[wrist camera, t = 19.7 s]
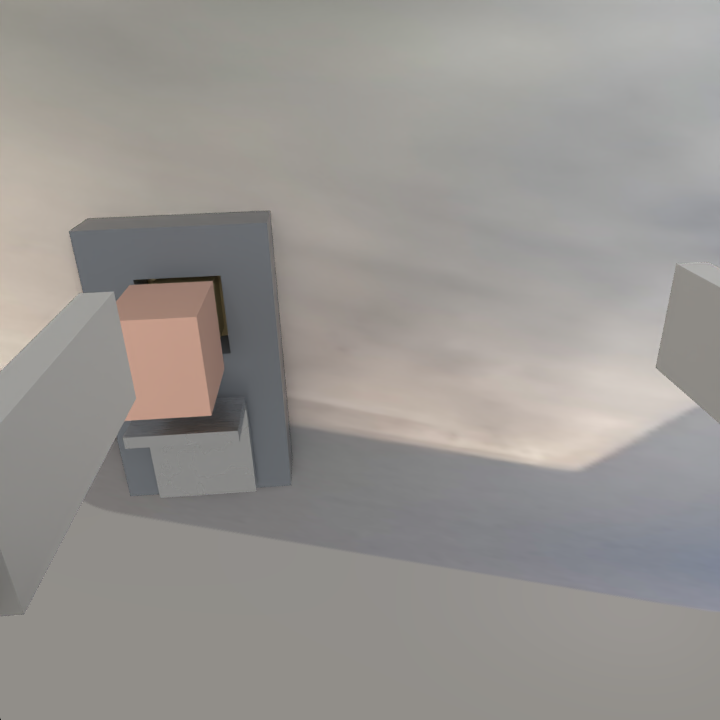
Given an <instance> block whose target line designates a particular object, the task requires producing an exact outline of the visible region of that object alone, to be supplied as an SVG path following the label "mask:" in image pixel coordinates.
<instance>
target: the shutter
mask: <svg viewBox="0 0 720 720" xmlns="http://www.w3.org/2000/svg"><path fill="white" fill-rule="evenodd" d="M123 441H124V446H125V449H132V448H148V447H150V451H151V456H152V461H153V466H154V471H155V476H156V480H157V485H158V490H159V495H160V498H166V497H181V496H196V495H211V494H225V493H240V492H255V491H256V490H257V479H256V471H255V463H254V454H253V446H252V438H251V430H250V422H249V413H248V405H247V403H245V396H244V397H227V398H216V401H215V405H214V408H213V412H212V416H198V417H181V418H165V419H148V420H131V422H130V424H129V426H128V428H127V430H126V432H125V434H124V436H123Z"/></svg>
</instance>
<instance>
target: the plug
mask: <svg viewBox="0 0 720 720" xmlns="http://www.w3.org/2000/svg"><path fill="white" fill-rule="evenodd" d="M116 304H117V309H118V314H119V319H120V323H121V328H122V333H123V338H124V343H125V347H126V352H127V357H128V362H129V366H130V371H131V376H132V381H133V385H134V390H135V395H136V400H135V402H134V403H133V405H132V407H131V409H130V411H129V413H128V415H127V417H126V419H125V421H131V420H148V419H165V418H181V417H198V416H212V412H213V408H214V405H215V401H216V398H217V394H218V390H219V387H220V383H221V380H222V376H223V373H224V361H223V354H222V347H221V339H220V338H221V335H222V332H223V329H224V319H223V312H222V304H221V296H220V289H219V281H218V276H202V277H181V278H160V279H156V280H155V281H154V282H153V284H141V285H129V286H128V288H127V289H126V290H125V291H124V292H123V294H122V295H121V296H120V297H119V299H118V300H117V301H116Z"/></svg>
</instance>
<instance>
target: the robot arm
mask: <svg viewBox="0 0 720 720" xmlns="http://www.w3.org/2000/svg"><path fill="white" fill-rule="evenodd" d="M656 368H657V369H658V370H659V371H660V372H661V373H662V374H663V375H665V376H666V377H667V378H668V379H669V380H670V381H671V382H673V383H674V384H675V385H676V386H677V387H678V388H679V389H681V390H682V391H683V392H684V393H685V394H686V395H687V396H689V397H690V398H691V399H692V400H693V401H694V402H695V403H697V404H698V405H699V406H700V407H701V408H702V409H703V410H705V411H706V412H707V413H708V414H709V415H710V416H711V417H713V418H714V419H715V420H716V421H717V422H718V423H719V424H720V268H718V267H716V266H714V265H712V264H710V263H708V262H700V263H680V264H676V268H675V273H674V278H673V283H672V288H671V293H670V298H669V303H668V308H667V313H666V318H665V323H664V328H663V333H662V338H661V343H660V348H659V353H658V358H657V363H656ZM135 400H136V395H135V390H134V385H133V381H132V376H131V371H130V366H129V362H128V357H127V352H126V347H125V343H124V338H123V333H122V328H121V323H120V319H119V314H118V309H117V304H116V300H115V295H114V292H95V293H79V294H78V295H77V296H76V297H75V298H74V299H73V300H72V301H71V302H70V303H69V304H68V305H67V306H66V307H65V308H64V309H63V310H62V311H61V312H60V313H59V314H58V315H57V316H56V317H55V318H54V319H53V320H52V321H51V322H50V323H49V324H48V325H47V326H46V327H45V328H44V329H43V330H42V331H41V332H40V333H39V334H38V335H37V336H36V337H35V338H34V339H33V340H32V341H31V342H30V343H29V344H28V345H27V346H26V347H25V348H24V349H23V350H22V351H21V352H20V353H19V354H18V355H17V356H16V357H15V358H14V359H13V360H12V361H11V362H10V363H9V364H8V365H7V366H6V367H5V368H4V369H3V370H2V371H0V616H10V615H23V614H25V611H26V610H27V608H28V606H29V604H30V602H31V600H32V598H33V596H34V594H35V592H36V590H37V588H38V587H39V585H40V583H41V581H42V579H43V577H44V575H45V573H46V571H47V569H48V567H49V565H50V563H51V562H52V560H53V558H54V556H55V554H56V552H57V550H58V548H59V546H60V544H61V542H62V540H63V538H64V536H65V534H66V533H67V531H68V529H69V527H70V525H71V523H72V521H73V519H74V517H75V515H76V513H77V511H78V509H79V508H80V506H81V504H82V502H83V500H84V498H85V496H86V494H87V492H88V490H89V488H90V486H91V484H92V482H93V481H94V479H95V477H96V475H97V473H98V471H99V469H100V467H101V465H102V463H103V461H104V459H105V457H106V455H107V454H108V452H109V450H110V448H111V446H112V444H113V442H114V440H115V438H116V436H117V434H118V432H119V430H120V428H121V427H122V425H123V423H124V421H125V419H126V417H127V415H128V413H129V411H130V409H131V407H132V405H133V403H134V402H135ZM0 720H1V719H0Z"/></svg>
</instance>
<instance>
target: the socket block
mask: <svg viewBox="0 0 720 720" xmlns="http://www.w3.org/2000/svg"><path fill="white" fill-rule="evenodd" d="M69 234H70V238H71V242H72V247H73V251H74V255H75V259H76V264H77V268H78V272H79V277H80V281H81V285H82V290H83V293H95V292H114V295H115V300H116V301H117V300H118V299H119V297H120V296H121V295H122V294H123V292H124V291H125V290H126V289H127V288H128V286H129V285H141V284H153V282H154V281H155V280H156V279H160V278H181V277H202V276H218V281H219V289H220V296H221V304H222V312H223V319H224V329H223V332H222V335H221V338H220V339H221V347H222V354H223V361H224V373H223V376H222V380H221V383H220V387H219V390H218V394H217V398H227V397H244V396H245V403H247V405H248V413H249V422H250V430H251V438H252V446H253V454H254V463H255V471H256V479H257V488H258V487H273V486H288V485H291V479H292V449H291V438H290V427H289V416H288V405H287V393H286V382H285V371H284V360H283V349H282V338H281V326H280V315H279V304H278V293H277V282H276V271H275V260H274V248H273V237H272V226H271V215H270V211H251V212H228V213H205V214H182V215H158V216H135V217H112V218H89V219H86V220H85V221H83V222H82V223H80V224H79V225H77V226H76V227H75V228H73V229H72V230H70V231H69ZM130 422H131V421H124V423H123V425H122V427H121V428H120V430H119V432H118V434H117V440H118V444H119V449H120V453H121V457H122V462H123V466H124V470H125V475H126V479H127V483H128V487H129V492H130V496H139V495H154V494H159V490H158V485H157V480H156V476H155V471H154V466H153V461H152V456H151V451H150V447H148V448H132V449H125V446H124V441H123V436H124V434H125V432H126V430H127V428H128V426H129V424H130Z"/></svg>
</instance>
